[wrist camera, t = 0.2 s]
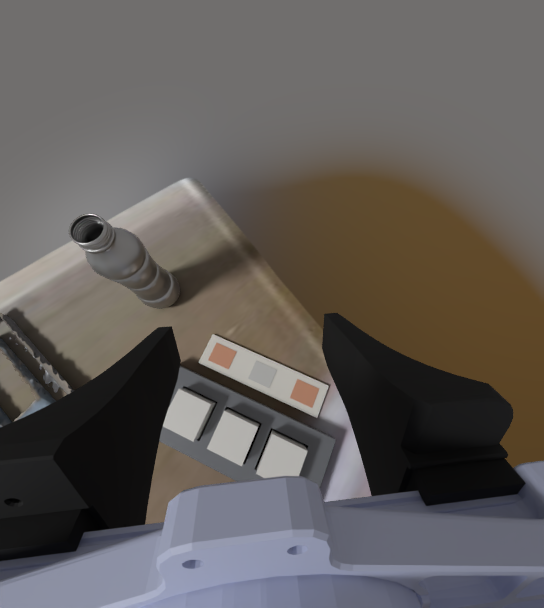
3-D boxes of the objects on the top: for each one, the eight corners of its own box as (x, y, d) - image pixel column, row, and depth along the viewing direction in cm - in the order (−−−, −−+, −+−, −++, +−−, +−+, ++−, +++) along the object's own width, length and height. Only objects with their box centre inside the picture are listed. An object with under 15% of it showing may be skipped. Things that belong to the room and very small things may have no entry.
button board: (332, 436, 40) (335, 439, 37) (307, 510, 37) (309, 518, 35) (177, 364, 43) (172, 362, 40) (144, 426, 40) (136, 429, 38)
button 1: (304, 445, 38) (307, 451, 35) (291, 482, 37) (292, 492, 33) (272, 429, 39) (272, 433, 35) (257, 466, 37) (256, 473, 34)
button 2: (216, 402, 40) (210, 404, 36) (200, 437, 38) (193, 441, 35) (186, 388, 40) (178, 388, 37) (169, 421, 39) (160, 424, 36)
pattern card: (328, 385, 42) (328, 385, 41) (316, 417, 40) (317, 418, 40) (213, 334, 44) (212, 333, 44) (199, 363, 43) (198, 362, 42)
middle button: (259, 423, 39) (258, 427, 35) (244, 459, 38) (241, 466, 34) (228, 408, 39) (224, 410, 36) (212, 443, 38) (206, 448, 35)
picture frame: (30, 483, 39) (11, 490, 36) (-62, 369, 43) (-85, 368, 41) (102, 407, 42) (90, 408, 39) (9, 308, 46) (-8, 303, 44)
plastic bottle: (172, 318, 45) (96, 267, 26) (137, 302, 46) (40, 243, 27) (190, 284, 47) (132, 214, 28) (156, 270, 48) (78, 193, 29)
